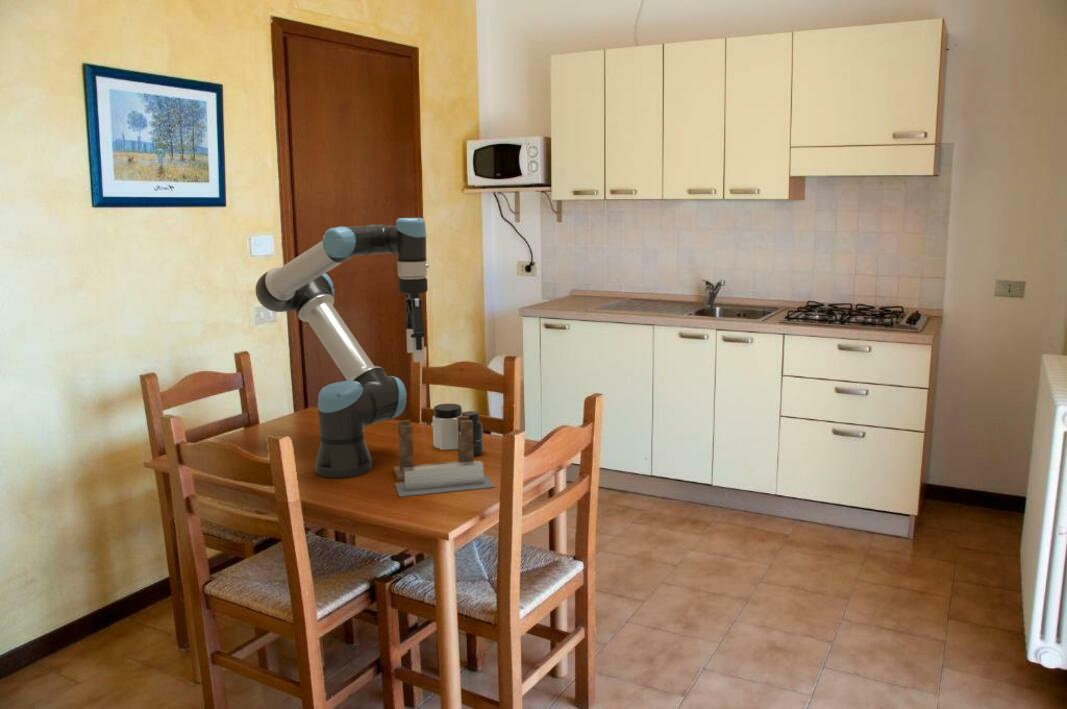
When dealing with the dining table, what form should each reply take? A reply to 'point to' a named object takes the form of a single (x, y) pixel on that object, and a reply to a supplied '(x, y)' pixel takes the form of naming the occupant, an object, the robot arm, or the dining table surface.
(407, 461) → the stand
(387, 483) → the dining table surface
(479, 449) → the supplement bottle
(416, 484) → the rail
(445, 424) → the jar
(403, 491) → the mat
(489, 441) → the dining table surface
